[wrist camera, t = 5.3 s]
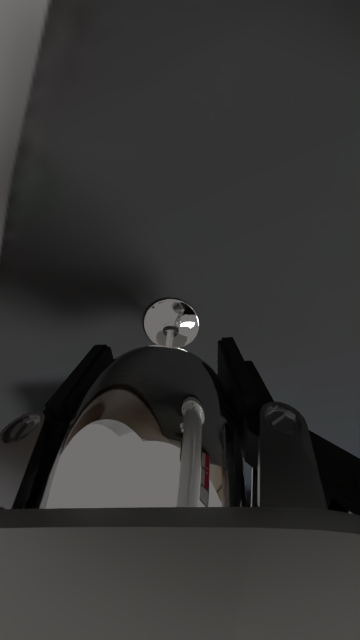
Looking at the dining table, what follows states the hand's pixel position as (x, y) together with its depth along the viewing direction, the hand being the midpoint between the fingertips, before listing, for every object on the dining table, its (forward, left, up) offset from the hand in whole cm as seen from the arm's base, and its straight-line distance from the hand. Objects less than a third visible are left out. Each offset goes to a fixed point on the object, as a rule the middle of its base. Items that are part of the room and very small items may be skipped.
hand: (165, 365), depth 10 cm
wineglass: (0, 0, -5) cm, 5 cm away
